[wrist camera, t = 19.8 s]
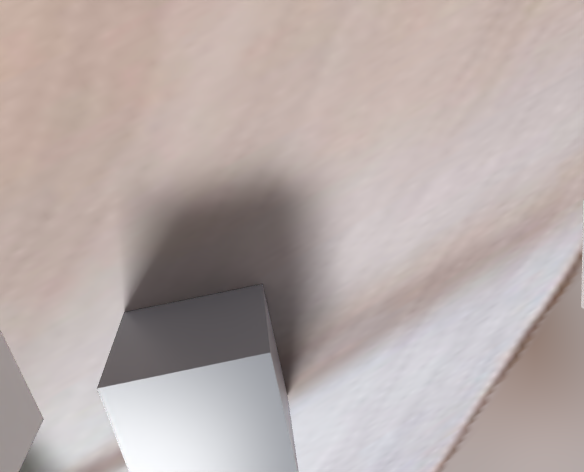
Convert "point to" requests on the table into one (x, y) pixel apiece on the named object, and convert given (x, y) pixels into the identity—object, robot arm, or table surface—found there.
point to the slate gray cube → (199, 387)
